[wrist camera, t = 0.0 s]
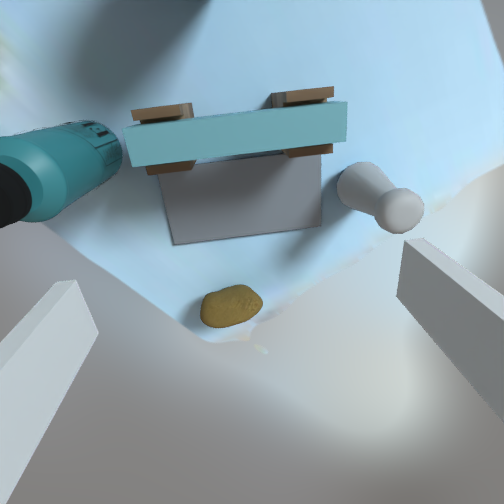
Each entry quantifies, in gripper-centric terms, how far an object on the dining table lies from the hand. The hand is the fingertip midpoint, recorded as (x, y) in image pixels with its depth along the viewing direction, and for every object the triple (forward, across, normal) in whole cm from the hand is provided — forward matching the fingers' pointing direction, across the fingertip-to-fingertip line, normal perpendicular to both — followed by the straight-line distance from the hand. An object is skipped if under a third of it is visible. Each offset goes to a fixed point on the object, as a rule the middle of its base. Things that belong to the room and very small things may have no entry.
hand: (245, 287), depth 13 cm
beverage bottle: (+28, -15, +3) cm, 32 cm away
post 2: (+28, +7, +4) cm, 29 cm away
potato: (+28, -3, -19) cm, 34 cm away
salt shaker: (+28, +15, -4) cm, 32 cm away
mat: (+28, +1, -5) cm, 28 cm away
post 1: (+28, -6, +4) cm, 29 cm away
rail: (+20, +1, +4) cm, 20 cm away
